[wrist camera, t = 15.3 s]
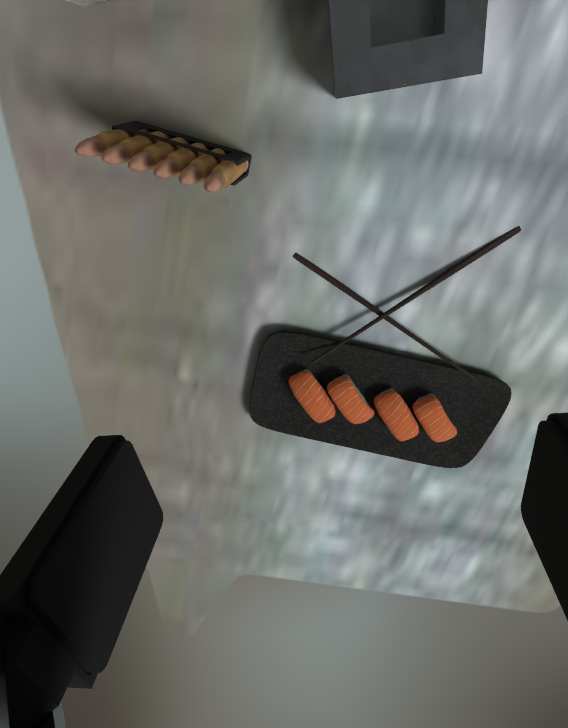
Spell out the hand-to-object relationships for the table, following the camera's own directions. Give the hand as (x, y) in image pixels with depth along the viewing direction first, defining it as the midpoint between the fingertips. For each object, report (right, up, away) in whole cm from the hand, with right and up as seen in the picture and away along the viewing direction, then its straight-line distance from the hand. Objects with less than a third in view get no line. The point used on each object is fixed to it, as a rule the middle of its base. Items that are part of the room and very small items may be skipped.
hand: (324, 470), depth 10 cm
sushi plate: (+11, +5, +37) cm, 39 cm away
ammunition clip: (-9, +22, +28) cm, 37 cm away
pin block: (+7, +29, +21) cm, 37 cm away
